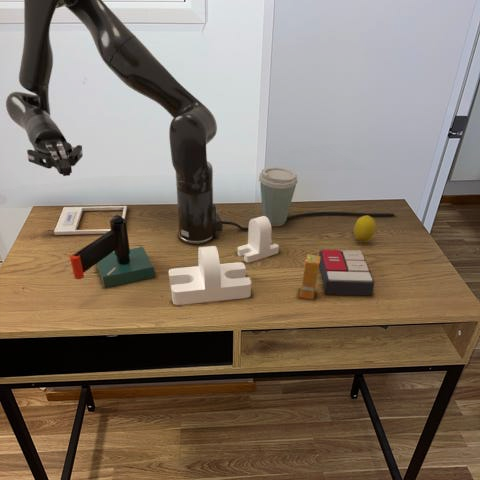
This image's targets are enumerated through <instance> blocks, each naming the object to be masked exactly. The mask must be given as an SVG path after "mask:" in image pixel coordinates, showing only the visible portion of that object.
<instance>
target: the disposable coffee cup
mask: <svg viewBox="0 0 480 480" xmlns="http://www.w3.org/2000/svg"><path fill="white" fill-rule="evenodd" d="M258 182H260V183H259V184H260V185H259V186H260V197H261V209H262V212H261V213H262V216H266V217H267V218H268V219H269V221H270V224H271V227H281V226H283V225H284V224H285V223H286V222H287V220H286V219H287V217H288V215H289V211H290V208H291V204H292V200H293V198H294V194H295V191H296V186H297V184H298V175H297V174H296V173H295V172H294V171H293V170H291V169H288V168H284V167H280V166H279V167H277V166H270V167H264V168H263V169H261V172H259V177H258Z"/></svg>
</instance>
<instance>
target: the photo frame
mask: <svg viewBox="0 0 480 480" xmlns="http://www.w3.org/2000/svg"><path fill="white" fill-rule="evenodd" d="M85 211H86V212H87V211H88V212H89V211H90V212H91V211H122V215H121V217H122V218H124V219H125V220H126V216H127V211H128V206H127V205H116V206H115V205H107V206H105V205H103V206H64V207H63V208H62V211H61V213H60V216H59V219H58V220H57V223H56V226H55V227H54V231H53V233H54V236H59V235H60V236H61V235H62V236H63V235H64V236H65V235H98V234H99V235H104V234H105V233H107V232H109V231H110V230H111V228H110V229H109V228H108V229H106V228H105V229H78V226H79V225H80V220H81V218H82V215H83V212H85Z"/></svg>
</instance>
